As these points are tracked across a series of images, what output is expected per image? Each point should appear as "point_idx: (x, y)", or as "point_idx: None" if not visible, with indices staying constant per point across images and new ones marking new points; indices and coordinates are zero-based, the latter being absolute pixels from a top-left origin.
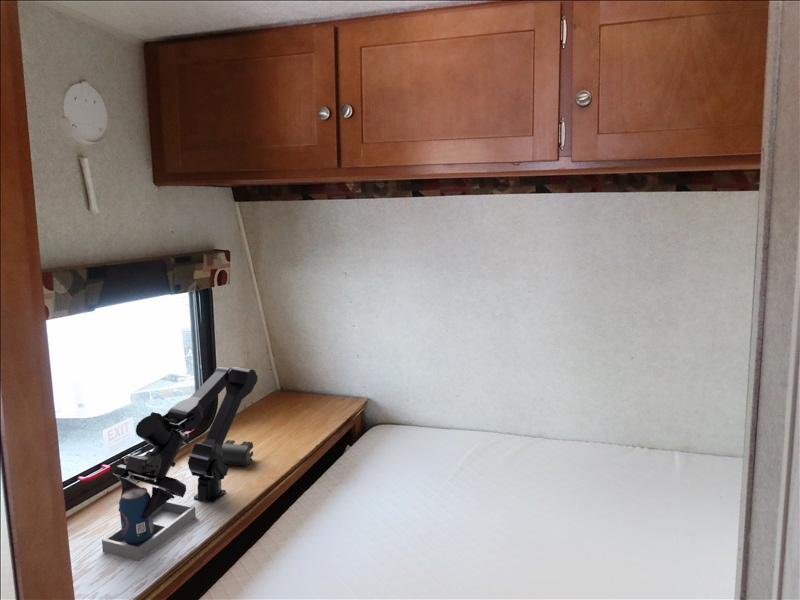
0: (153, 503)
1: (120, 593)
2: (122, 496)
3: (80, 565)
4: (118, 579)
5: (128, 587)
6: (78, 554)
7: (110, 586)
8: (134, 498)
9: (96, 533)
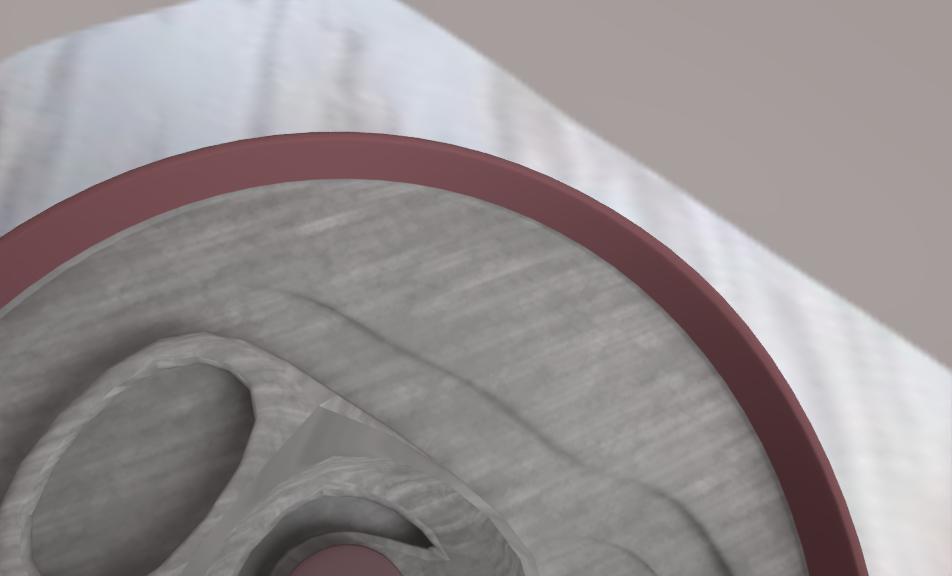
0: None
1: (80, 31)
2: (651, 319)
3: (612, 156)
4: (200, 130)
5: (62, 90)
6: (760, 250)
7: (203, 59)
8: (14, 242)
9: (948, 569)
